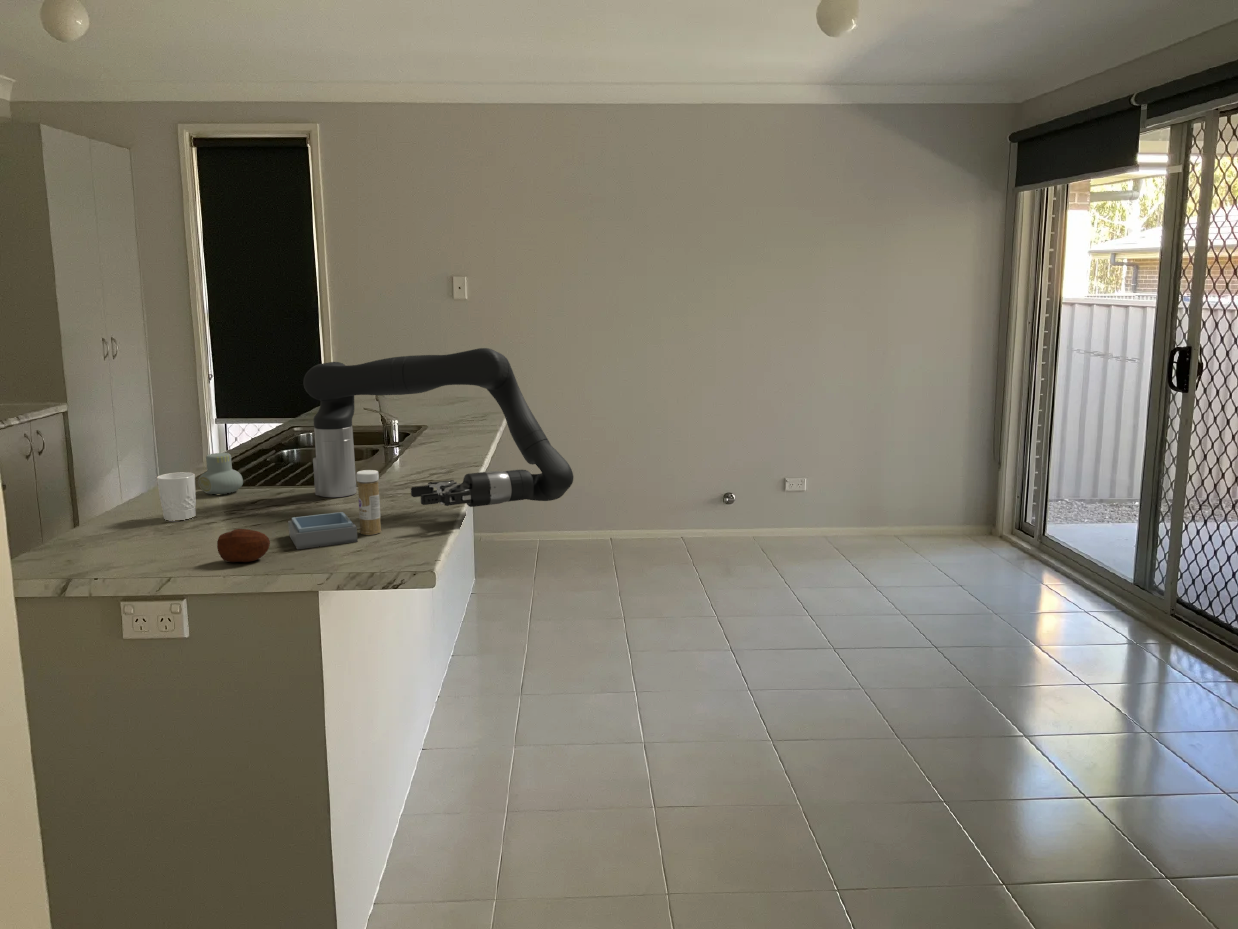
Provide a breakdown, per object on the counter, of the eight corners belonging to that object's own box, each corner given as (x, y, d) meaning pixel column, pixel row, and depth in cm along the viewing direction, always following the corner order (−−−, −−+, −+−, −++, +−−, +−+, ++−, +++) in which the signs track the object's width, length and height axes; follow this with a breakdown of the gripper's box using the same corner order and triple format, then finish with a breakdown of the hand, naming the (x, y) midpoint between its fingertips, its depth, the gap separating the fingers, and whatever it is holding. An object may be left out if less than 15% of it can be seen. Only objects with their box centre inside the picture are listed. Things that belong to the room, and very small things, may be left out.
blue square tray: (297, 549, 195) (295, 530, 194) (289, 535, 206) (287, 517, 205) (357, 541, 200) (356, 523, 199) (346, 528, 211) (345, 510, 210)
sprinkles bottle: (355, 533, 207) (351, 471, 204) (373, 529, 210) (369, 468, 208) (368, 536, 204) (364, 474, 201) (386, 532, 207) (382, 471, 205)
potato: (228, 556, 191) (225, 524, 190) (275, 555, 191) (273, 523, 190) (214, 566, 184) (211, 533, 183) (263, 565, 184) (260, 533, 183)
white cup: (206, 515, 224) (202, 473, 222) (181, 523, 217) (176, 480, 215) (179, 513, 227) (175, 471, 225) (153, 521, 220) (148, 478, 218)
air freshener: (247, 493, 247) (244, 454, 245) (216, 498, 241) (212, 459, 239) (227, 487, 255) (223, 450, 253) (196, 492, 249) (192, 454, 247)
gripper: (476, 466, 223) (407, 473, 216) (497, 477, 210) (423, 485, 203) (478, 498, 224) (408, 506, 217) (498, 511, 211) (425, 519, 205)
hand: (416, 496), depth 210 cm, fingers open, 8 cm apart
